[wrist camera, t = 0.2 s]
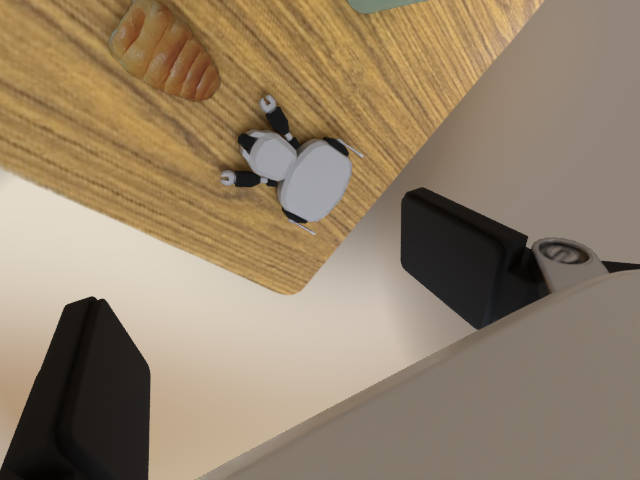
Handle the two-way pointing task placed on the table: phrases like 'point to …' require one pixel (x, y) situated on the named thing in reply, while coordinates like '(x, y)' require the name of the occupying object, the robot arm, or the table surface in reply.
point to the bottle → (378, 5)
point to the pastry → (163, 52)
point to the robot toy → (294, 168)
